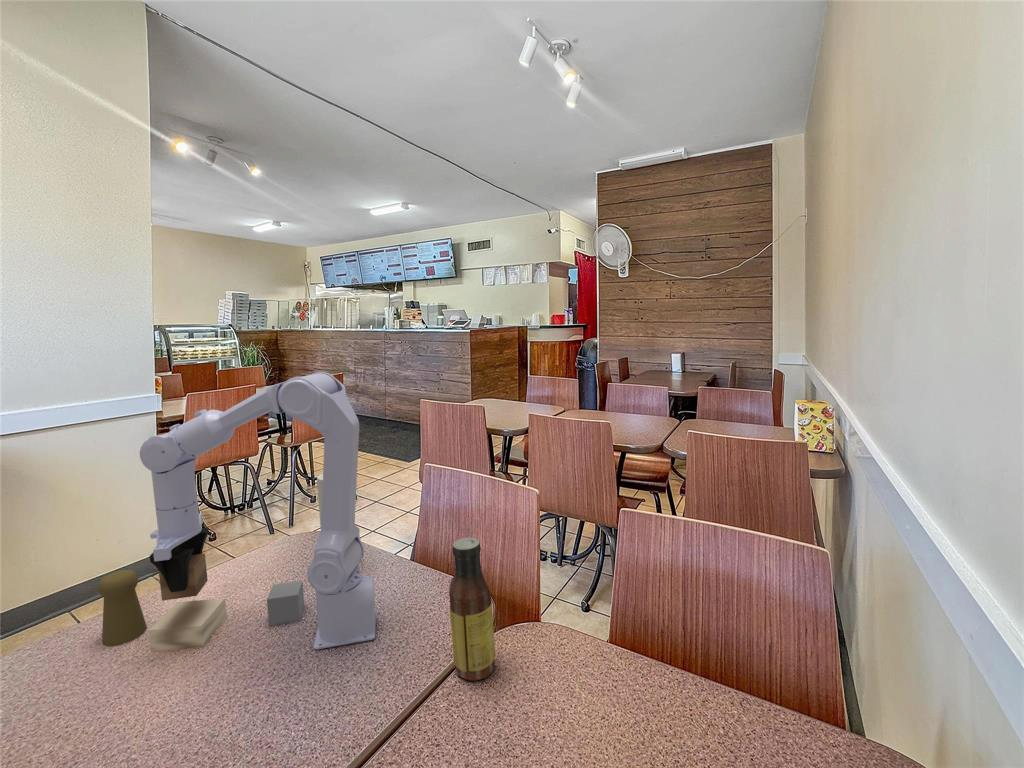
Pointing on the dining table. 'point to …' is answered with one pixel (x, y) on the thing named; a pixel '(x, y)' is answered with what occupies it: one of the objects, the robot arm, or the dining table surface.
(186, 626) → the sticky note pad
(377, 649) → the dining table surface
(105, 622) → the olive round-headed peg
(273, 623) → the slate cube
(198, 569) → the walnut cube
